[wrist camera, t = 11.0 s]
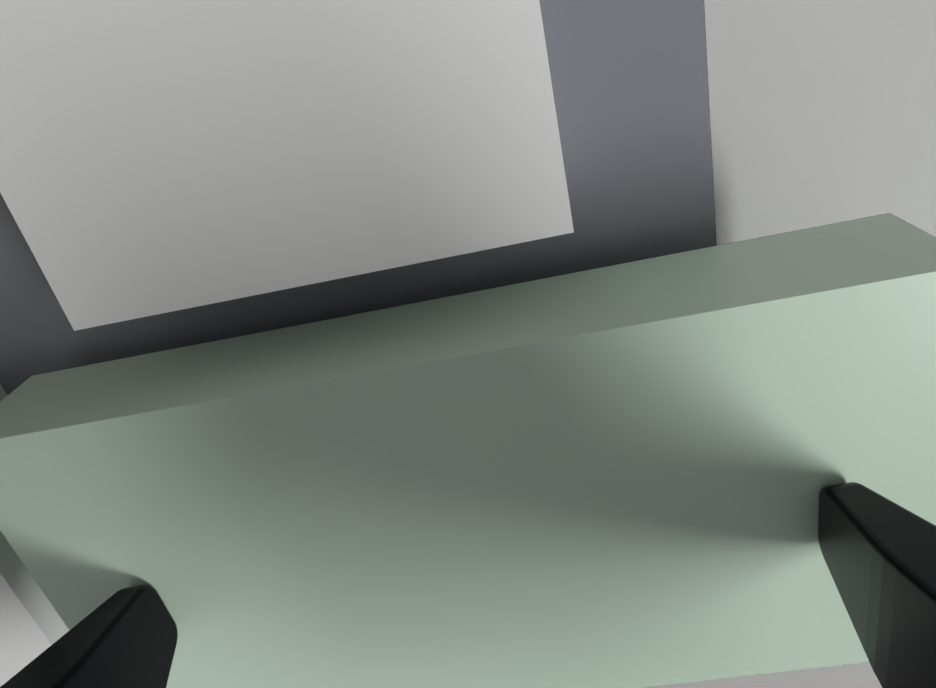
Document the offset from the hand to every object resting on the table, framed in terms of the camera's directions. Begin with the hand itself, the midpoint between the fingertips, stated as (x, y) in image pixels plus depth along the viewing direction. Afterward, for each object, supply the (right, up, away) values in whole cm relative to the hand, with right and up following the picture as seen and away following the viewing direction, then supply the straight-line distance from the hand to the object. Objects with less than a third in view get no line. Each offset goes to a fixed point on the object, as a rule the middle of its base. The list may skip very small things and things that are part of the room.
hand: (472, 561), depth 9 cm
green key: (0, +1, +3) cm, 3 cm away
